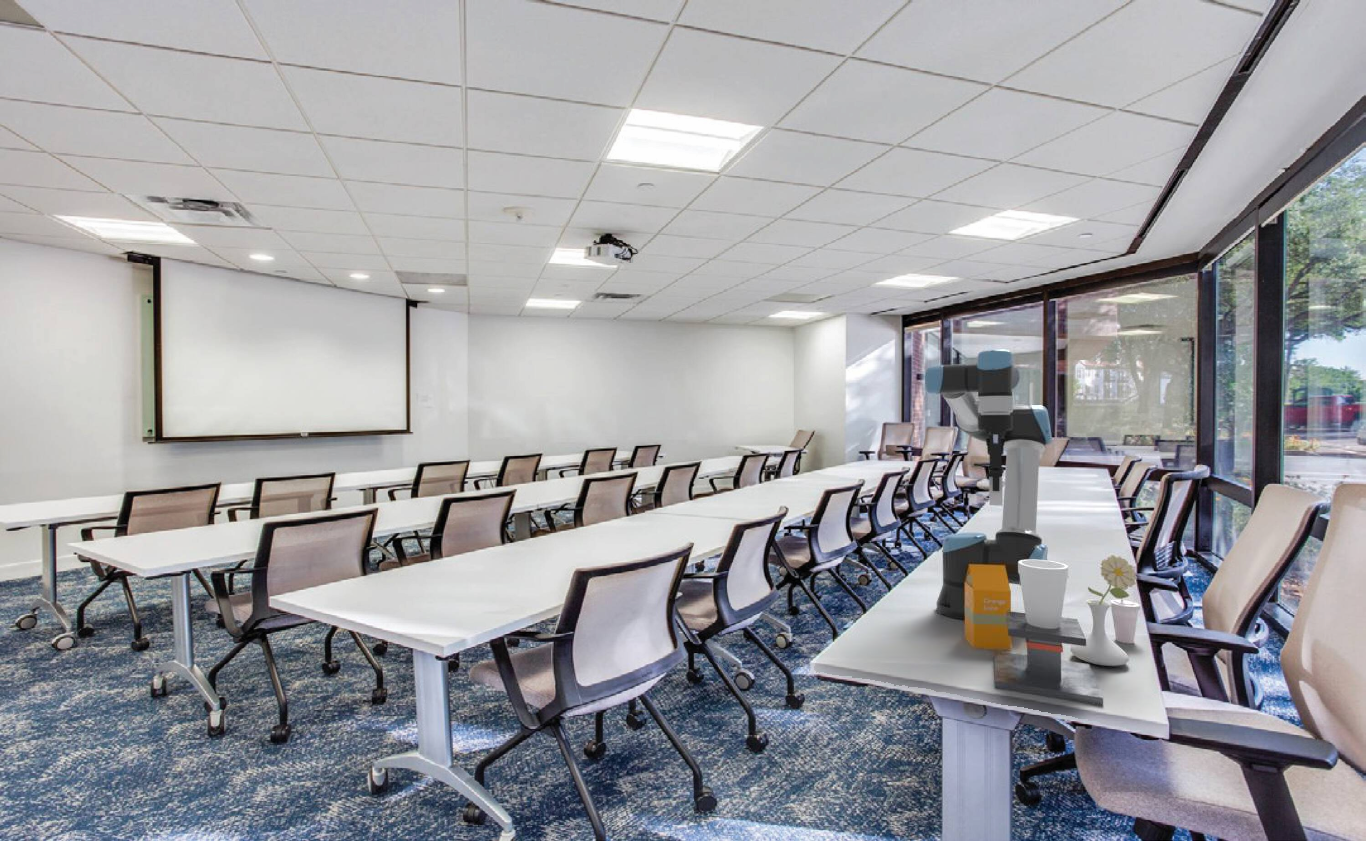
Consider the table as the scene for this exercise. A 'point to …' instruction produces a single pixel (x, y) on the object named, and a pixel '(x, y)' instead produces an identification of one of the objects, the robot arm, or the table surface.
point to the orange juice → (987, 606)
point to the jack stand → (1046, 662)
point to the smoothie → (1124, 619)
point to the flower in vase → (1097, 642)
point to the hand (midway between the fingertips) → (995, 502)
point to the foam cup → (1043, 591)
